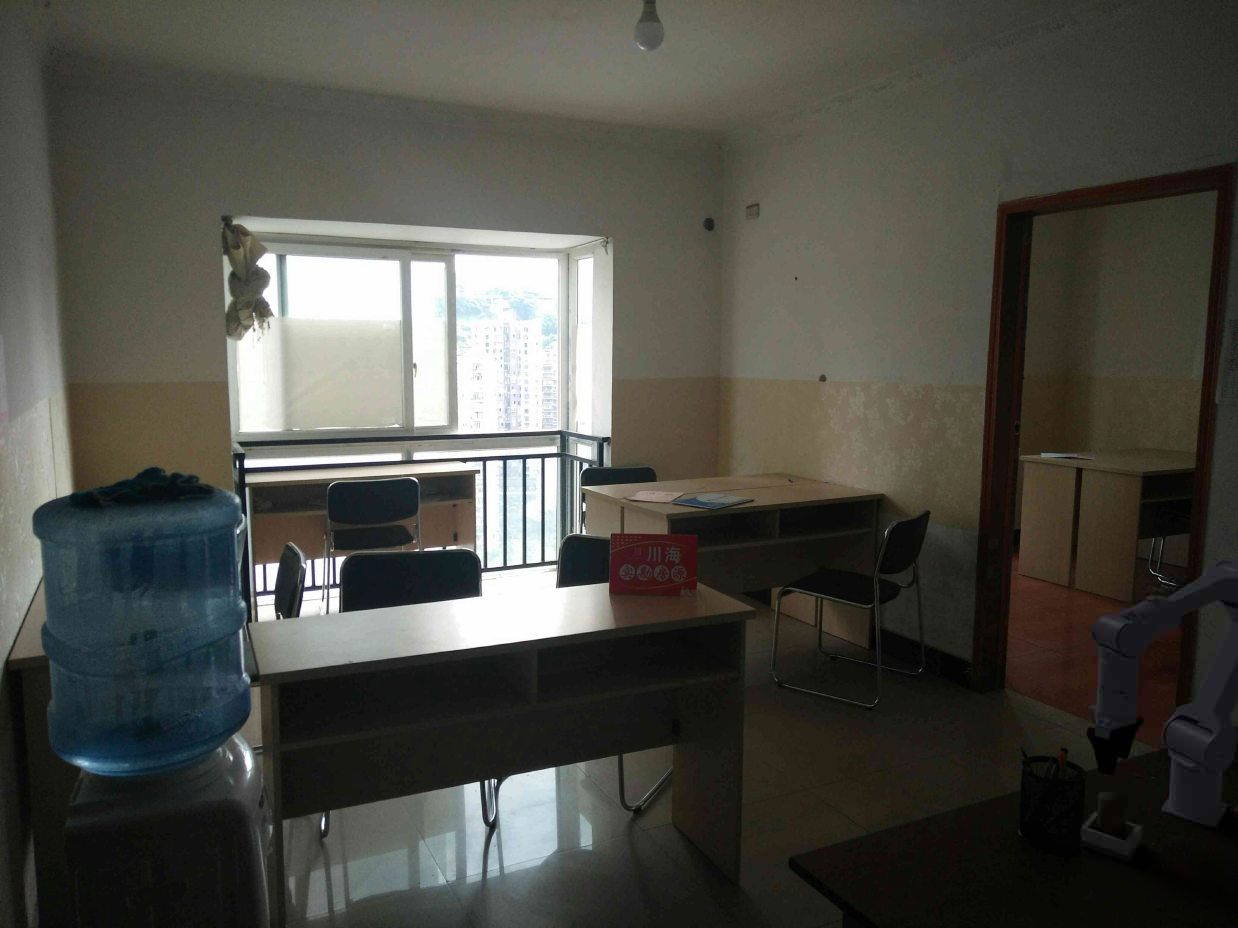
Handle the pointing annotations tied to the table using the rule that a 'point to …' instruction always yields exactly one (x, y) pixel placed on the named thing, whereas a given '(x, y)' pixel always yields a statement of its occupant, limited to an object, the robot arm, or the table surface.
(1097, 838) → the socket block
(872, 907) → the table surface
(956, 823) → the table surface
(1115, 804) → the walnut peg
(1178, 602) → the robot arm
